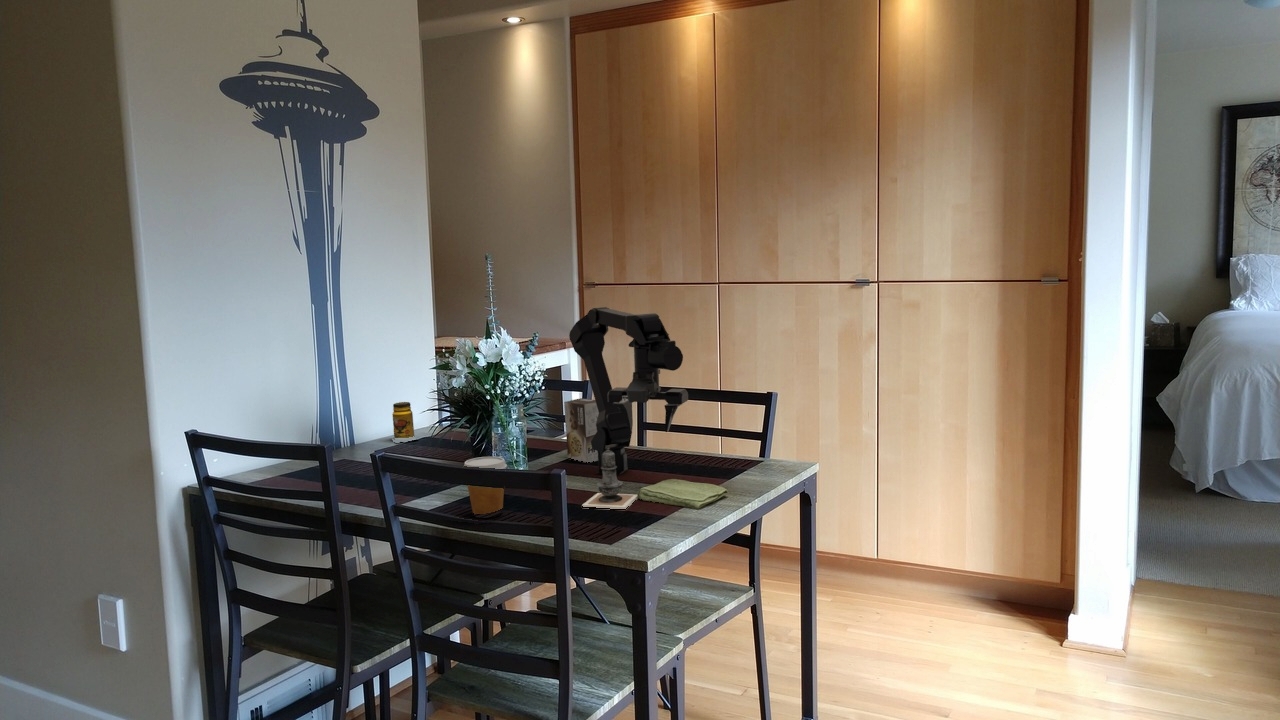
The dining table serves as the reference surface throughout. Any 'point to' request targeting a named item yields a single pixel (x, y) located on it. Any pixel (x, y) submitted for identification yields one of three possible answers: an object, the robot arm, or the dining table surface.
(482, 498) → the disposable coffee cup
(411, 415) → the condiment
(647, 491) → the washcloth
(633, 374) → the robot arm
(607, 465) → the salt shaker
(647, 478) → the dining table surface
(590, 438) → the coffee box
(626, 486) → the dining table surface
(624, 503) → the coaster
